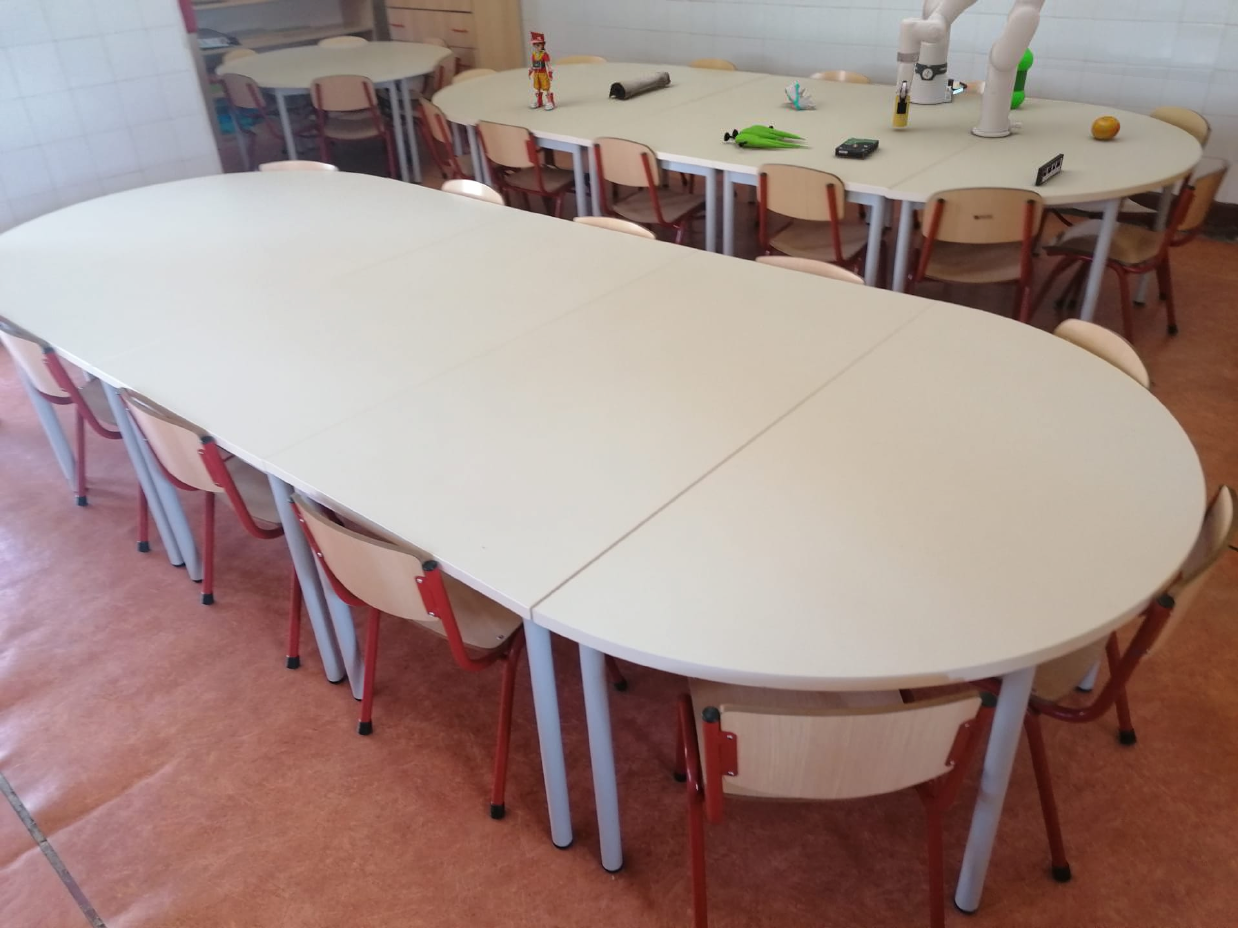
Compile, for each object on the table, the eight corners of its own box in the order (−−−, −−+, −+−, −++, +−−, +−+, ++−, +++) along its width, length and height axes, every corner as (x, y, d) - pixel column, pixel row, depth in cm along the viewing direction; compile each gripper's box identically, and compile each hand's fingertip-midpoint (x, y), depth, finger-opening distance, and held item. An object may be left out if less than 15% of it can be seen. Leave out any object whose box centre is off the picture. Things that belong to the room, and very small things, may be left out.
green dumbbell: (1029, 106, 343) (1043, 35, 329) (1012, 111, 338) (1026, 39, 324) (1007, 102, 350) (1020, 32, 336) (989, 107, 345) (1002, 36, 331)
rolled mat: (651, 76, 408) (662, 61, 399) (662, 93, 408) (674, 79, 400) (605, 92, 391) (616, 77, 383) (617, 110, 391) (628, 95, 383)
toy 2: (713, 146, 317) (792, 161, 304) (715, 131, 314) (794, 145, 301) (747, 132, 337) (821, 146, 325) (748, 118, 334) (824, 131, 322)
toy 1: (525, 109, 381) (517, 32, 364) (534, 104, 388) (527, 28, 371) (550, 110, 377) (543, 32, 360) (559, 105, 384) (553, 28, 367)
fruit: (1087, 130, 301) (1105, 108, 298) (1084, 133, 309) (1101, 112, 306) (1109, 144, 300) (1127, 122, 297) (1105, 147, 308) (1122, 126, 305)
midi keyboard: (1039, 185, 269) (1043, 168, 266) (1035, 184, 270) (1038, 168, 267) (1060, 170, 279) (1064, 154, 277) (1056, 169, 280) (1060, 153, 277)
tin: (890, 124, 327) (894, 95, 321) (903, 123, 327) (907, 94, 322) (895, 127, 323) (898, 98, 317) (908, 126, 323) (912, 97, 318)
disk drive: (864, 160, 299) (878, 148, 309) (864, 151, 297) (879, 139, 307) (834, 157, 304) (849, 145, 314) (835, 148, 302) (850, 136, 312)
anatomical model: (780, 80, 363) (804, 74, 363) (784, 106, 369) (807, 100, 369) (789, 89, 351) (814, 82, 350) (792, 115, 357) (817, 109, 356)
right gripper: (898, 52, 320) (892, 105, 330) (895, 62, 307) (889, 117, 317) (920, 52, 318) (913, 106, 328) (918, 62, 305) (911, 118, 315)
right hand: (901, 111), depth 322 cm, fingers closed on tin, 5 cm apart
